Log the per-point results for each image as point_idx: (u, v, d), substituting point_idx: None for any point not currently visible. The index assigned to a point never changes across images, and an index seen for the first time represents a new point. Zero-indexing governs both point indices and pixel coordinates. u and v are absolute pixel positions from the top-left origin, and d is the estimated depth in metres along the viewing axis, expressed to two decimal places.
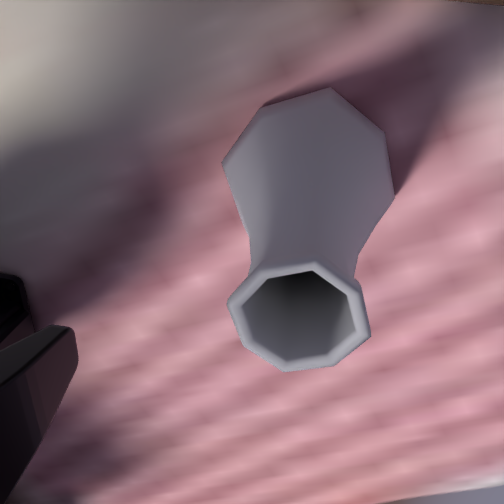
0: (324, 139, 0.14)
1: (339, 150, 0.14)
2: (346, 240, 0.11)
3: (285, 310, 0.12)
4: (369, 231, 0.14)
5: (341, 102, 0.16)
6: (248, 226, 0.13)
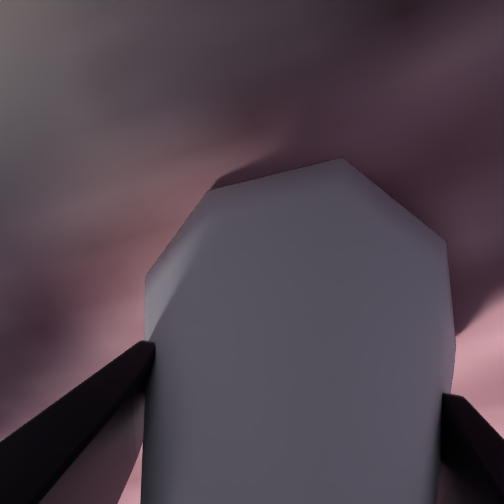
0: (333, 307, 0.06)
1: (365, 326, 0.06)
2: None
3: None
4: None
5: (365, 187, 0.08)
6: None
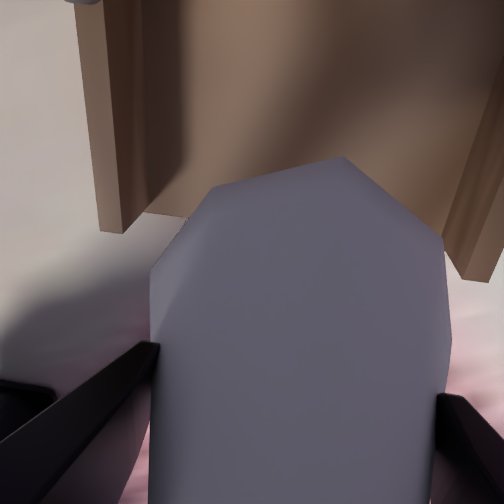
0: (333, 298, 0.06)
1: (364, 317, 0.06)
2: None
3: None
4: (429, 494, 0.06)
5: (364, 184, 0.08)
6: None
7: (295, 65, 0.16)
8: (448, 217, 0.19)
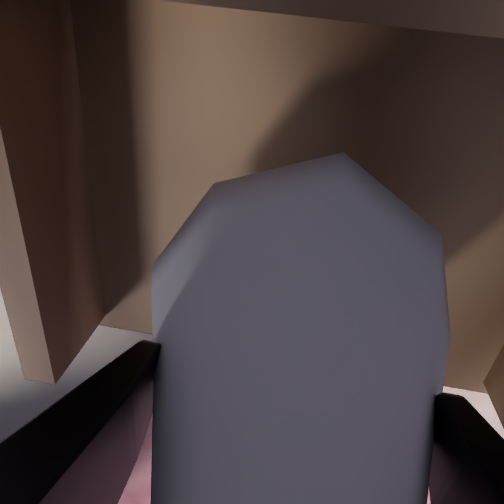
0: (334, 291, 0.06)
1: (365, 310, 0.06)
2: None
3: None
4: (427, 484, 0.06)
5: (364, 181, 0.08)
6: None
7: None
8: (497, 357, 0.14)
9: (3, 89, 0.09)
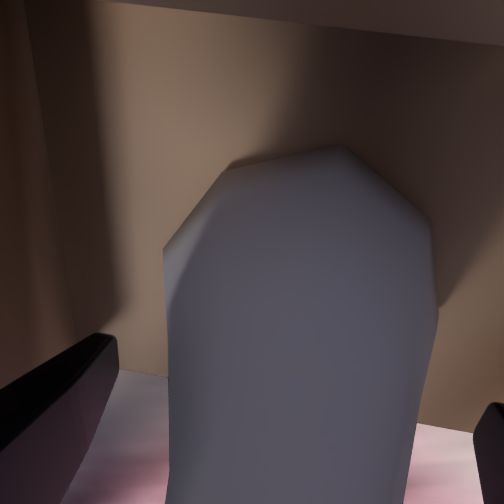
0: (332, 264, 0.07)
1: (359, 282, 0.07)
2: None
3: None
4: (412, 438, 0.07)
5: (361, 170, 0.09)
6: (171, 454, 0.06)
7: None
8: None
9: None
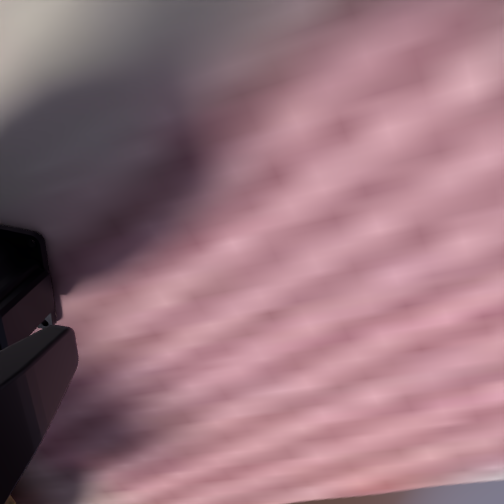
0: None
1: None
2: None
3: None
4: None
5: None
6: None
7: None
8: None
9: None
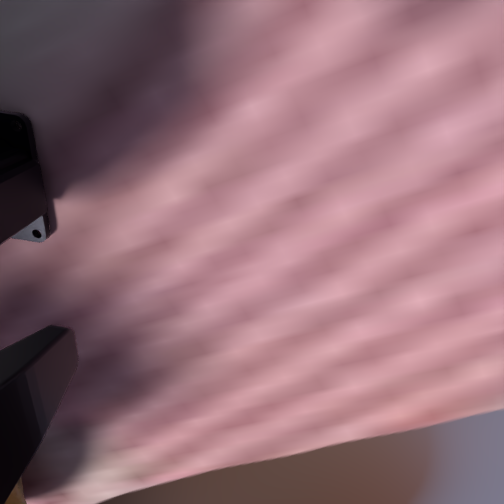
0: None
1: None
2: None
3: None
4: None
5: None
6: None
7: None
8: None
9: None
